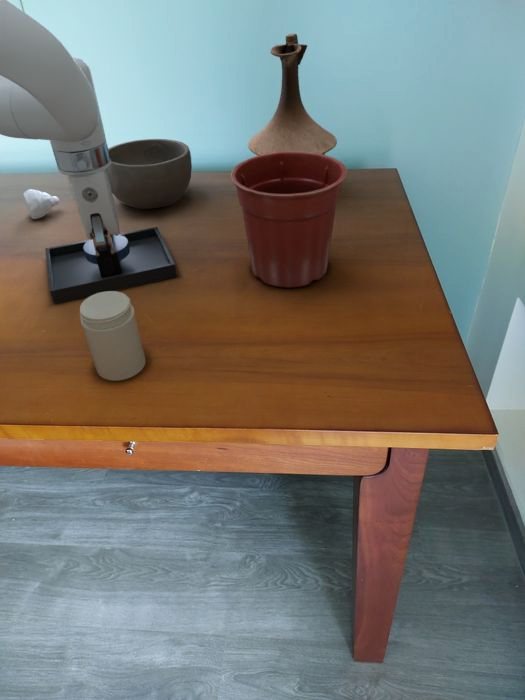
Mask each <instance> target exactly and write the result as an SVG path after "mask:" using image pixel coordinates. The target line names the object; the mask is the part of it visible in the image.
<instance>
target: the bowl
mask: <svg viewBox="0 0 525 700" xmlns="http://www.w3.org/2000/svg"><path fill="white" fill-rule="evenodd" d="M108 150H109V155H110V159H111V165H110V166H109V167H108V168H107V169H106V171H107V174H108V178H109V182H110V186H111V190H112V194H113V196H114V197H115V198H116V199H117V200H118V201H119V202H121V203H123V204H124V205H126V206H127V207H129V208H133V209H140V210H149V209H158V208H163V207H168V206H170V205H173V204H174V203H176V202H178V201H179V200H180V199H181V198H182V197H183V196H184V194H185V193H186V191H187V189H188V187H189V186H190V182H191V178H192V171H193V170H192V169H193V168H192V167H193V165H192V154H191V149H190V147H189V145H187V144H186V143H184V142H182V141H179V140H175V139H168V138H148V139H147V138H146V139H136V140H131V141H126V142H122V143H118V144H116V145H113V146H110V147H108Z"/></svg>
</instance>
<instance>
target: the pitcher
mask: <svg viewBox="0 0 525 700" xmlns="http://www.w3.org/2000/svg"><path fill="white" fill-rule="evenodd" d="M307 49H308V44H303V43H299V39H298V34H297V33H289V34H287V35H285V44H275V45H274V46H273V47H272V48H271V49H270V54H271V55H272V56H274V57H277V58H279V60H280V62H281V89H280V96H279V100H278V104H277V107H276V110H275V111H274V114H273V116H272V118H271V119H270V120H269V122H268V123H267V124H266V125H265V126H264V127H263V128H262V129H261V130H260V131H259V132H257V133H256V134H255V135H253V136H252V137H251V138H250V139H249V141H248V144H247V147H248V150H249V151H250V152H251V153H252V154H254V155H256V156H259V155H263V154H267V153H274V152H284V151H303V152H313V153H319V154H323V155H326V154H327V153H329V152H330V151H332V150H333V149H335V148H336V146H337V144H338V140H337V138H336V136H335V135H334V134H333V133H331V132H330V131H328V130H327V129H326V128H324V127H323V126H321V125H320V124H319V123H317V122H316V121H315V120H314V119H313V118H312V117H311V116H310V114H309V113H308V111H307V110H306V108H305V106H304V103H303V101H302V97H301V91H300V79H299V78H300V77H299V66H300V65H301V63H302V60H303V59H304V56H305V53H306V51H307Z"/></svg>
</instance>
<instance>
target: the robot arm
mask: <svg viewBox="0 0 525 700" xmlns="http://www.w3.org/2000/svg"><path fill="white" fill-rule="evenodd" d="M94 83H95V82H94V79H93V75H92V71H91V69H90V66H89V64H88V63H87V62H86V61H85V60H83V59H82V58H80V57H76V56H72V54H71V53H70V51H69V50H68V48H66V46H65V45H64V44H63V43H62V41H60V40H59V38H57V37H56V35H54V34H53V33H52V32H51V31H50V30H49V29H47V27H45V26H44V25H42V24H41V23H40V22H38V21H37V20H36V19H34V18H33V17H32V16H30V15H29V14H27V13H26V12H24V11H23V10H21V9H20V8H19V7H17V6H16V5H14V4H13V3H11V2H10V1H9V0H0V136H3V137H7V138H12V139H13V138H14V139H23V140H41V141H49V143H50V147H51V149H52V153H53V157H54V160H55V163H56V167H57V170H58V173H60V174H62V175H65V176H68V178H69V182H70V186H71V189H72V193H73V196H74V200H75V203H76V207H77V211H78V215H79V217H80V221H81V223H82V227H83V230H84V233H85V235H86V238H87V239H88V240H92V239H93V243H94V248H95V252H96V255H95V257H96V260H97V264H98V267H99V271H100V275H101V277H102V278H105V277H110V276H115V275H119V274H121V268H120V264H119V260H118V256H117V252H116V251H115V252H114V247H113V243H112V238H111V236H113V235H116V236H118V235H119V234H121V233H120V232H121V230H120V221H119V217H118V212H117V207H116V204H115V199H114V194H113V193H112V190H111V186H110V182H109V178H108V174H107V171H106V169H107V168H108V167H109V166H110V165H111V159H110V155H109V150H108V148H109V146H108V142H107V138H106V133H105V129H104V124H103V120H102V119H103V118H102V116H101V115H102V114H101V111H100V107H99V102H98V97H97V93H96V88H95V84H94ZM106 238H108V242H109V244H108V243H106V241H105V239H106Z"/></svg>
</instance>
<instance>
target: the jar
mask: <svg viewBox="0 0 525 700" xmlns="http://www.w3.org/2000/svg"><path fill="white" fill-rule="evenodd" d="M79 316H80V324H81V327H82V331H83V334H84V337H85V340H86V343H87V346H88V349H89V352H90V354H91V358H92V362H93V365H94V368H95V371H96V373H97V374H98V376H99V377H100V378H102V379H104V380H106V381H114V382H116V381H117V382H118V381H123V380H128V379H131V378H132V377H135V376H136V375H138V374H139V373H141V372H142V370H143V369H144V367H145V366H146V362H147V358H146V354H145V349H144V345H143V342H142V341H143V340H142V337H141V333H140V329H139V325H138V324H139V323H138V321H137V316H136V311H135V308H134V306H133V305H132V304H131V298H130V297H129V296H128V295H126V294H125V293H123V292H121V291H118V290H114V291H105V292H100V293H97V294H94V295H92V296H87V297H86V298H85V299H84V300H83V301H82V302H81V304H80V306H79Z"/></svg>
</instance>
